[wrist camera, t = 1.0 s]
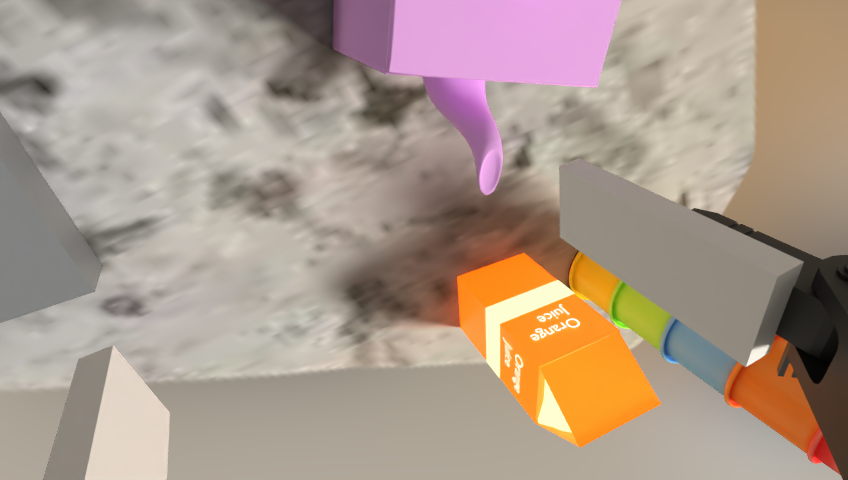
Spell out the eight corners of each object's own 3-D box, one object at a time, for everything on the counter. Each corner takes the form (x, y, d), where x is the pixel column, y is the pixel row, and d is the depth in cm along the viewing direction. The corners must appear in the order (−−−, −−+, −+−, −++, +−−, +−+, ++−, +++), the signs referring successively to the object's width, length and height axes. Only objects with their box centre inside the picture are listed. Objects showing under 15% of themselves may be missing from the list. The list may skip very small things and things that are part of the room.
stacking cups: (555, 297, 58) (885, 582, 30) (586, 225, 54) (997, 477, 26) (609, 295, 63) (935, 539, 35) (641, 229, 59) (1036, 446, 31)
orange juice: (456, 275, 49) (584, 416, 33) (524, 251, 51) (672, 370, 36) (459, 328, 53) (574, 476, 37) (522, 303, 56) (654, 431, 40)
